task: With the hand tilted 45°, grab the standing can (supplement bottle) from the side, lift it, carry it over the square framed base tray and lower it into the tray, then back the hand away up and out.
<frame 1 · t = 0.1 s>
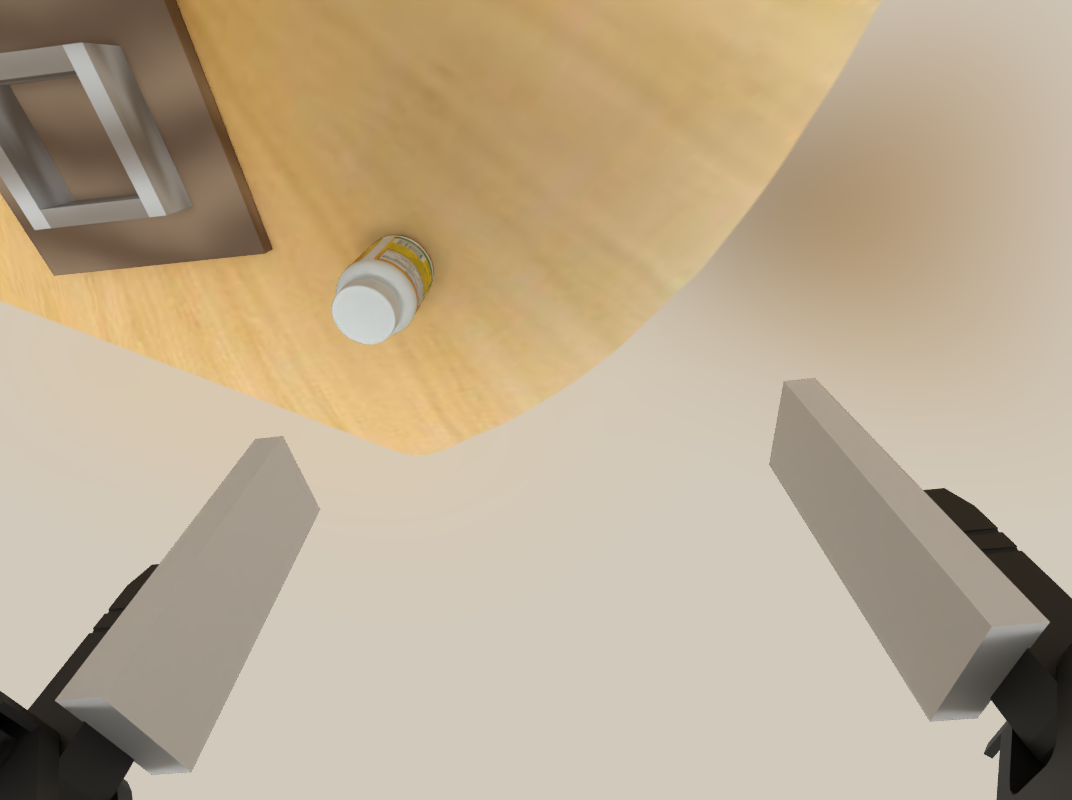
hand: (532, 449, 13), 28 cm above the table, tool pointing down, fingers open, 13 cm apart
supplement bottle: (400, 267, 39), on the table
square framed base tray: (106, 138, 34), on the table
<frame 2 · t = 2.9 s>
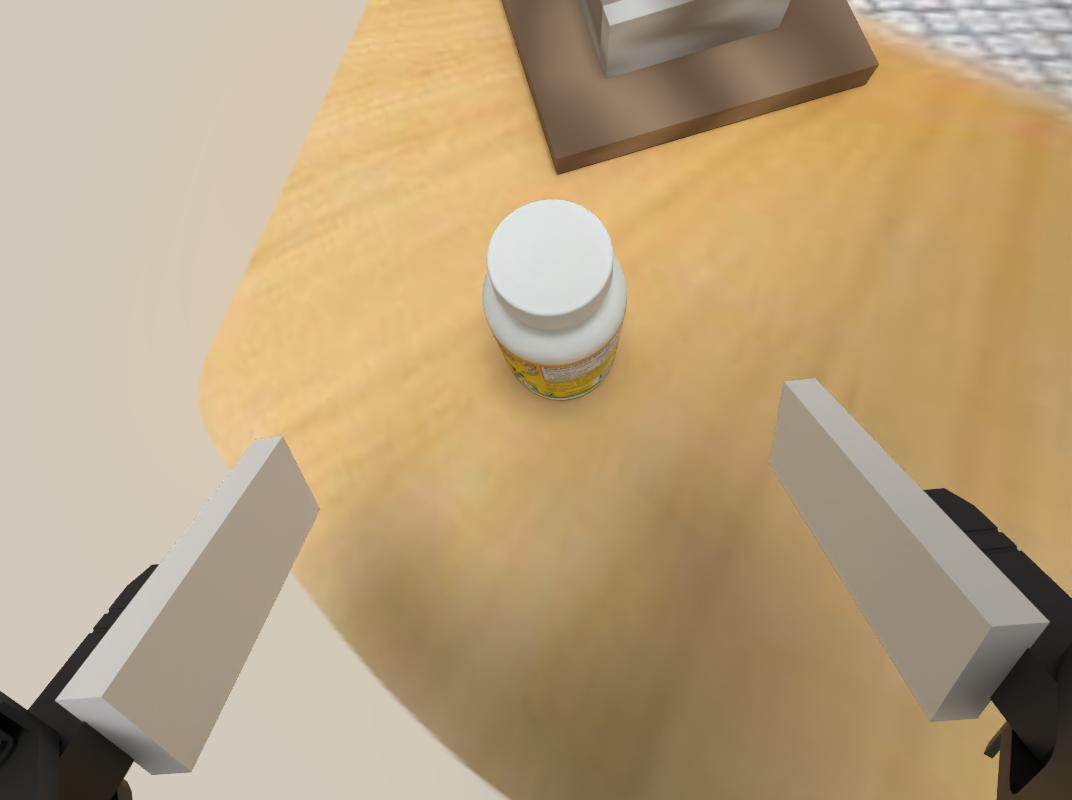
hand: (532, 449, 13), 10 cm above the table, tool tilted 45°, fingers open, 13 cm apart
supplement bottle: (560, 350, 25), on the table
square framed base tray: (660, 7, 28), on the table
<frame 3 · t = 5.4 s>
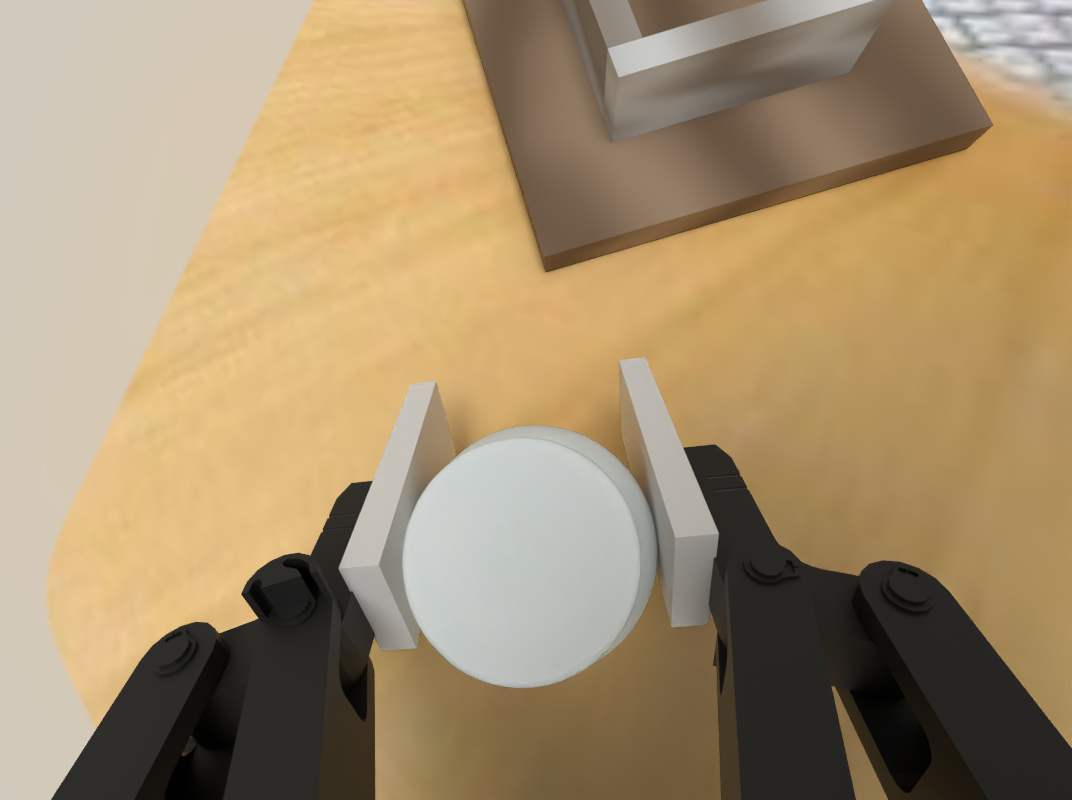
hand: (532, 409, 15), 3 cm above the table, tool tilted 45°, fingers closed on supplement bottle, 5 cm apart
supplement bottle: (550, 528, 18), on the table, touching gripper
square framed base tray: (682, 41, 21), on the table
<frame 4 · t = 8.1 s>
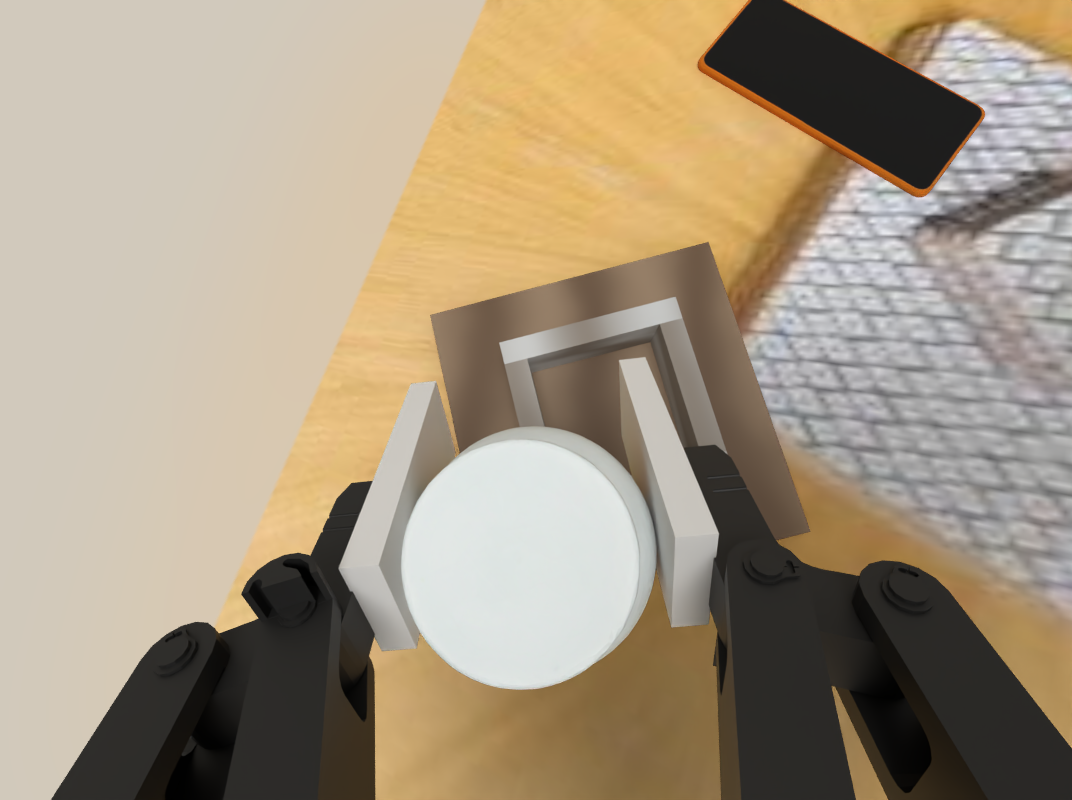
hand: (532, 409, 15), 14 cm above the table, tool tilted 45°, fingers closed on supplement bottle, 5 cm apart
supplement bottle: (550, 529, 18), point 10 cm above the table, touching gripper
square framed base tray: (605, 419, 29), on the table
smartphone: (830, 97, 32), on the table
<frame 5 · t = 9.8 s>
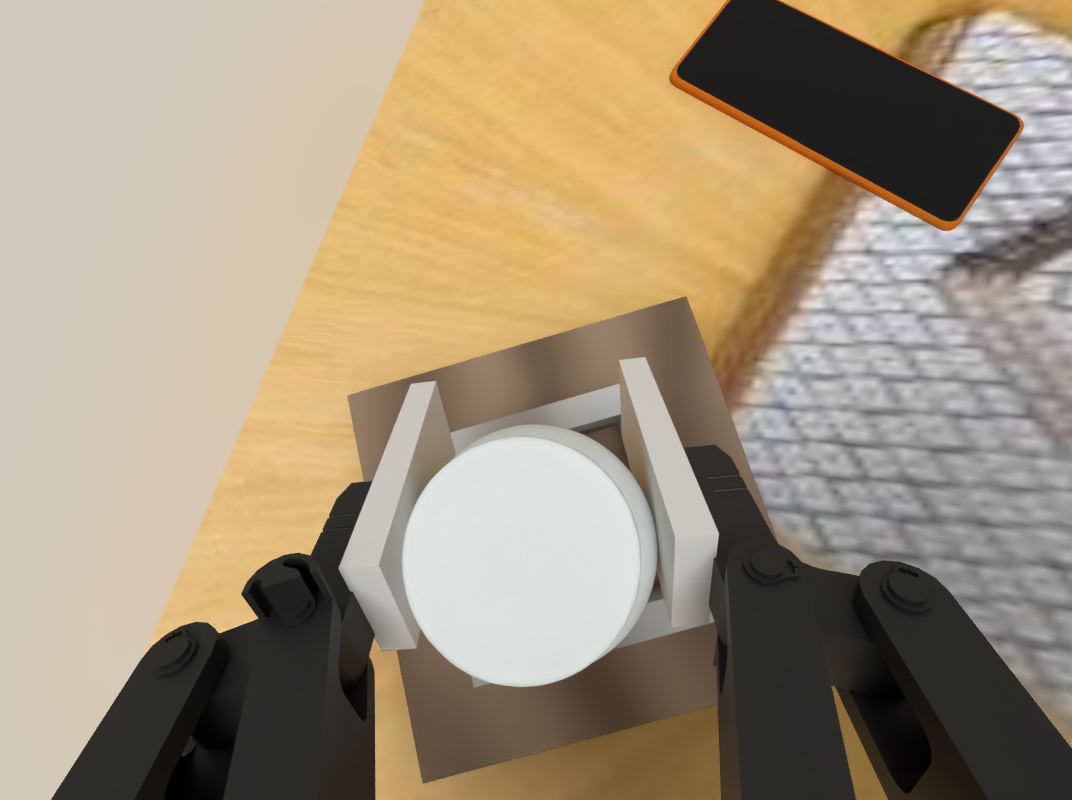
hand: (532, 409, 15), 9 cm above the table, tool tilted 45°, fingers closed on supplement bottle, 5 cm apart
supplement bottle: (550, 528, 18), point 6 cm above the table, touching gripper
square framed base tray: (565, 520, 23), on the table
smartphone: (831, 110, 27), on the table
when the fingers open (6 cm above the table, at t = 10.8 s): supplement bottle drops 1 cm, resting on square framed base tray.
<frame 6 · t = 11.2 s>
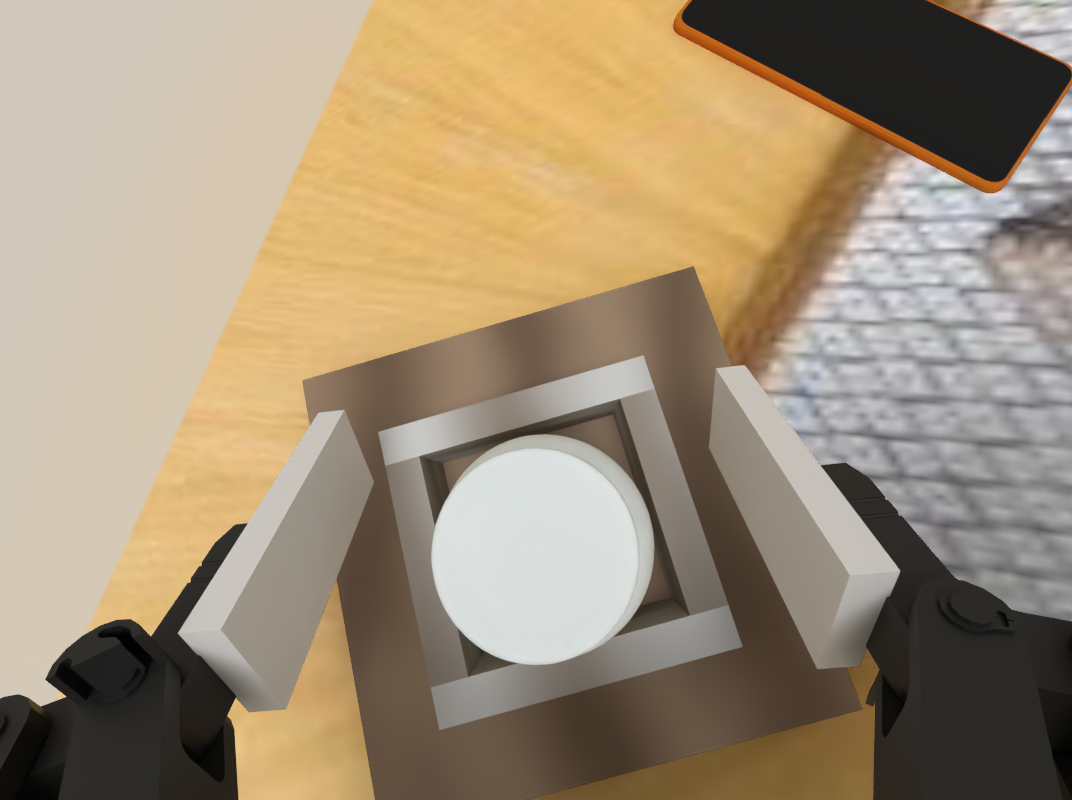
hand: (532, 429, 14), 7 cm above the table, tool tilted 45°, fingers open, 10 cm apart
supplement bottle: (555, 528, 19), point 1 cm above the table, touching square framed base tray
square framed base tray: (553, 525, 20), on the table
smartphone: (856, 61, 24), on the table
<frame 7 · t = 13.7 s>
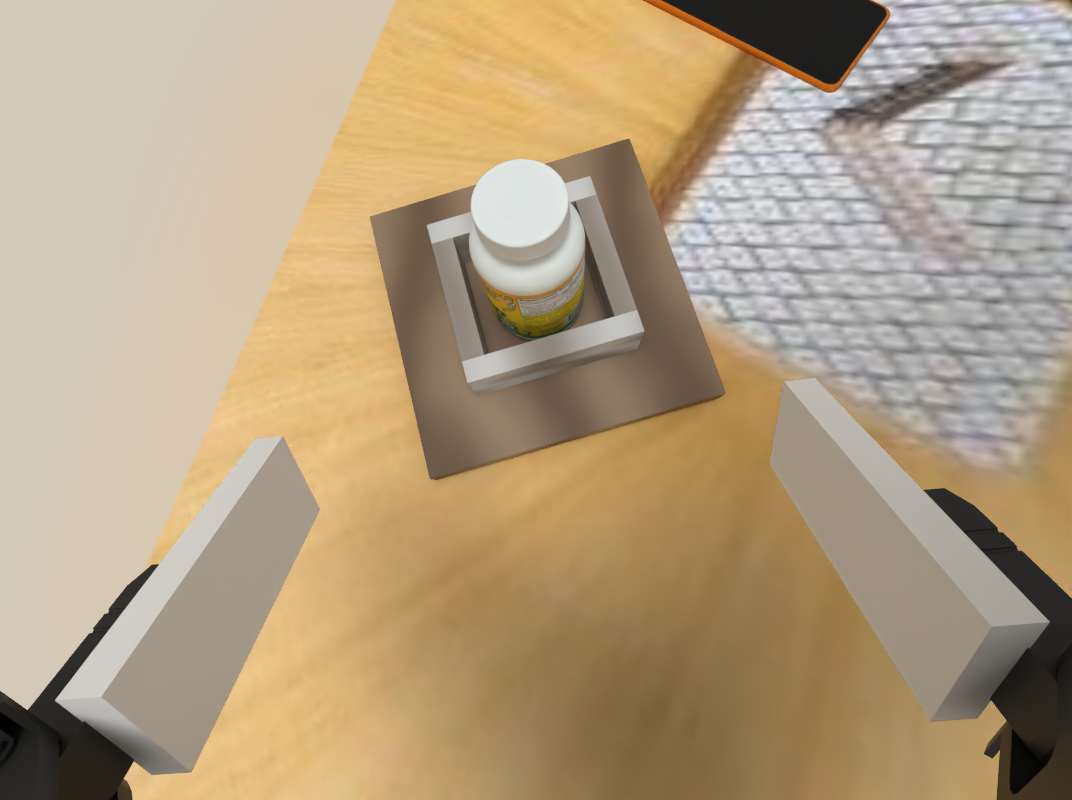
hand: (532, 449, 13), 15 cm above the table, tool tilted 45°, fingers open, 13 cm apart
supplement bottle: (537, 300, 29), point 1 cm above the table, touching square framed base tray
square framed base tray: (537, 306, 30), on the table
smartphone: (747, 8, 34), on the table
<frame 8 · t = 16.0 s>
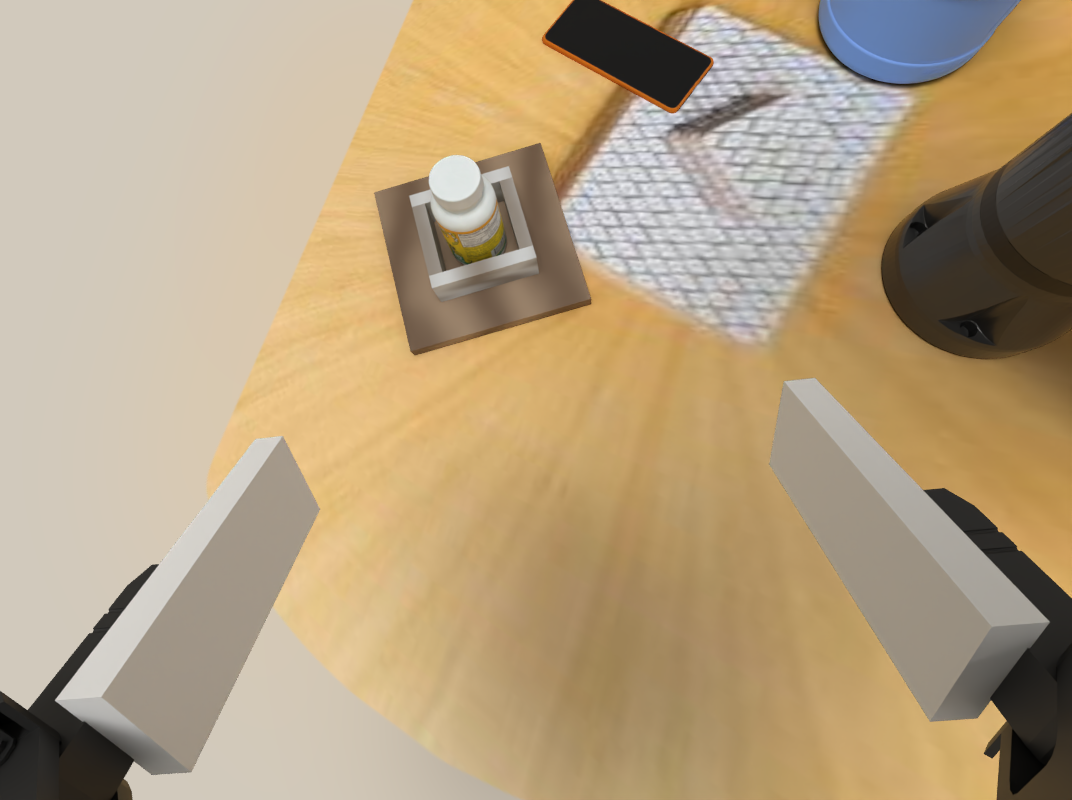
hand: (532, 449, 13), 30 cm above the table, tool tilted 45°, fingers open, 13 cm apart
supplement bottle: (479, 244, 46), point 1 cm above the table, touching square framed base tray
water jug: (895, 24, 49), on the table
square framed base tray: (480, 249, 47), on the table
smartphone: (625, 56, 51), on the table
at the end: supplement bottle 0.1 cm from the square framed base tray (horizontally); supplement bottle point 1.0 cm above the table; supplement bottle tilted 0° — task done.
